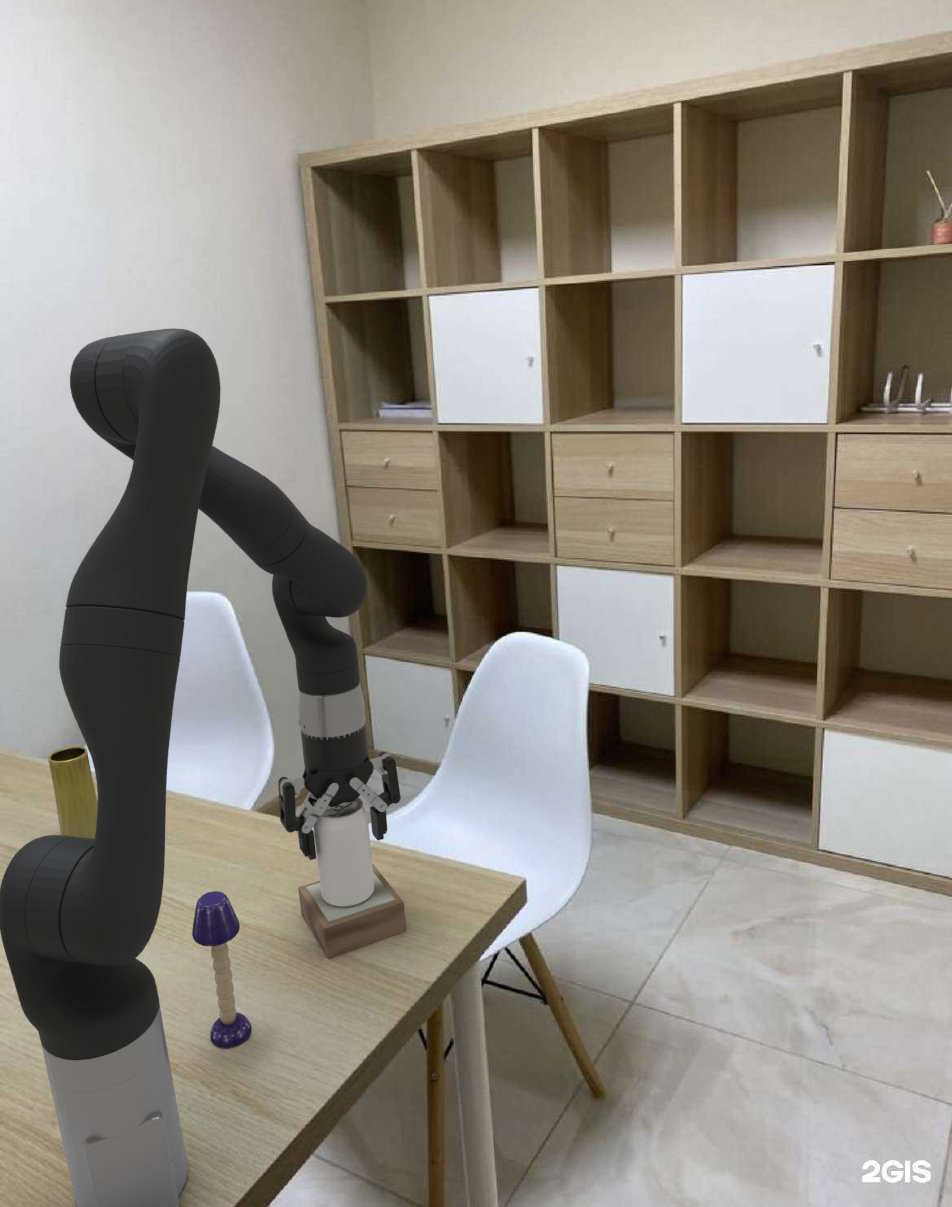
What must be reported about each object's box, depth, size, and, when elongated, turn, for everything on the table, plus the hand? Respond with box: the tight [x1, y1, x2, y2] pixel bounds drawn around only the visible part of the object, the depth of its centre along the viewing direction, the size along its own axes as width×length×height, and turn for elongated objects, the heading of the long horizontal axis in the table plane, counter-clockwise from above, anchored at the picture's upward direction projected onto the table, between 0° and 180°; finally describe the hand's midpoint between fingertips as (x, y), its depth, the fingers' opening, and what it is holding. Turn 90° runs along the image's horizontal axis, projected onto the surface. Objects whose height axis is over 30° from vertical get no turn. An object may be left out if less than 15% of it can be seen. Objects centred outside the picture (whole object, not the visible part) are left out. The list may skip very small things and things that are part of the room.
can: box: [313, 796, 374, 907], centre depth 116 cm, size 6×6×12 cm
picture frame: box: [297, 863, 407, 959], centre depth 118 cm, size 10×10×4 cm
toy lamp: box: [191, 890, 253, 1049], centre depth 98 cm, size 5×5×17 cm
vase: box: [48, 745, 98, 839], centre depth 140 cm, size 6×6×14 cm
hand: (345, 846), depth 116 cm, fingers open, 8 cm apart
